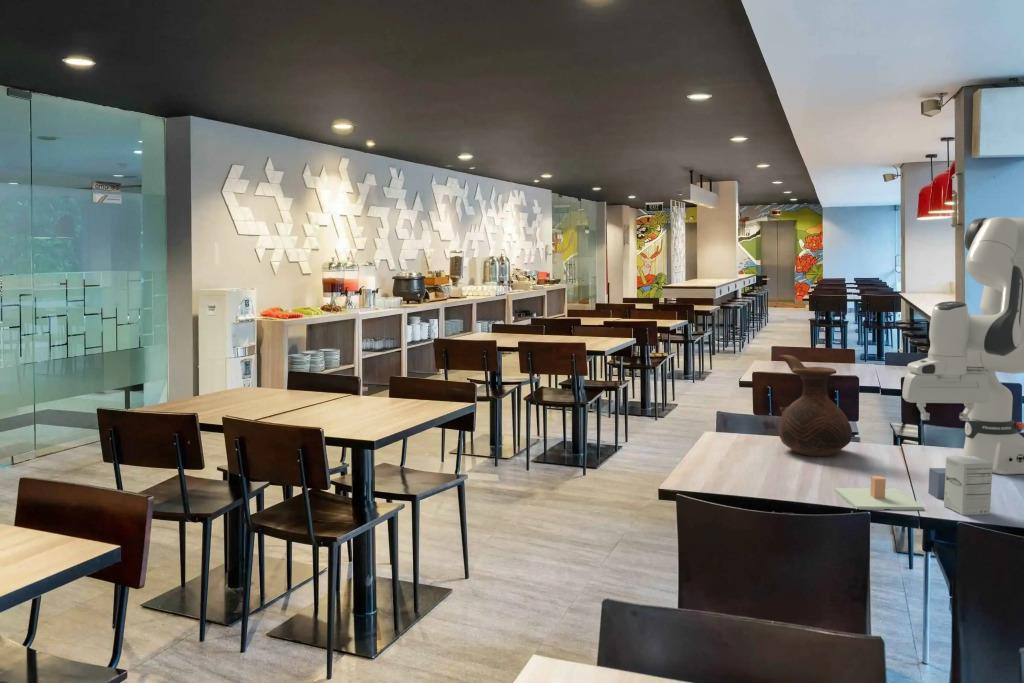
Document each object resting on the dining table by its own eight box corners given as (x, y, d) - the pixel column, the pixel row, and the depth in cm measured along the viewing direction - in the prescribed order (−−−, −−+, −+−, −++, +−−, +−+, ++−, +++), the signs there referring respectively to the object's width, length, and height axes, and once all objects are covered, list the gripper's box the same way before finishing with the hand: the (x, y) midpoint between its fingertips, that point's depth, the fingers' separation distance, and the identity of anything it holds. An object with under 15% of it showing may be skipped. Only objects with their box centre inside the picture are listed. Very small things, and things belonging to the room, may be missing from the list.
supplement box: (942, 506, 200) (944, 456, 199) (971, 505, 201) (973, 455, 199) (961, 515, 193) (964, 463, 192) (991, 514, 193) (993, 462, 192)
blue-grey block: (948, 493, 211) (950, 468, 210) (958, 498, 206) (959, 473, 205) (928, 493, 211) (929, 468, 211) (937, 498, 206) (938, 473, 206)
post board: (896, 491, 213) (897, 469, 213) (924, 510, 197) (925, 486, 197) (834, 490, 214) (835, 469, 214) (856, 509, 198) (857, 486, 198)
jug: (835, 443, 268) (838, 353, 265) (862, 459, 246) (865, 361, 243) (769, 444, 268) (770, 353, 265) (789, 460, 247) (792, 362, 244)
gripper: (983, 364, 208) (980, 418, 209) (901, 364, 210) (898, 417, 211) (996, 368, 202) (993, 423, 203) (911, 367, 203) (908, 422, 205)
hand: (944, 420), depth 207 cm, fingers open, 8 cm apart
